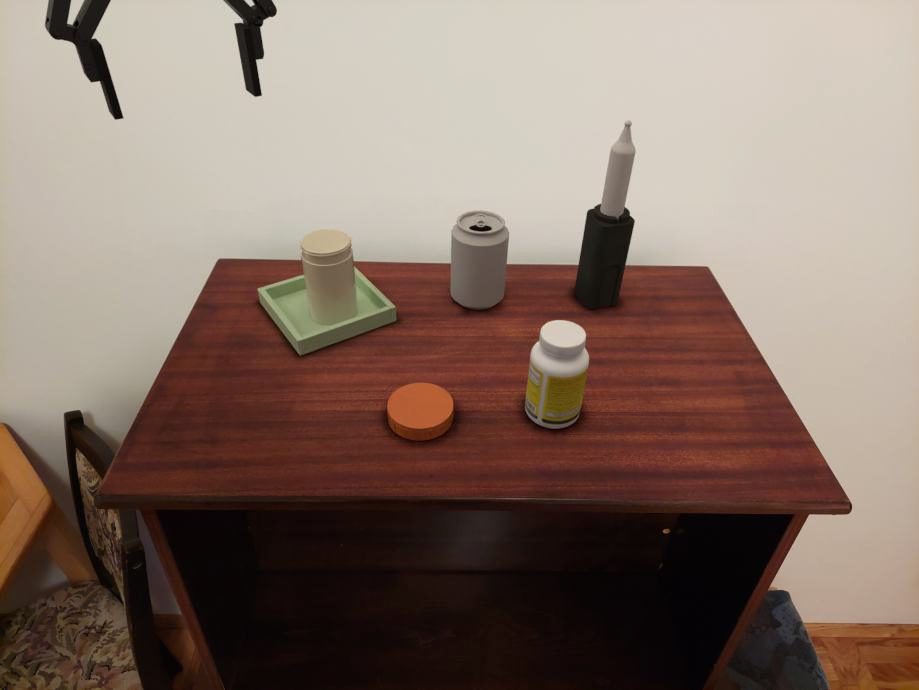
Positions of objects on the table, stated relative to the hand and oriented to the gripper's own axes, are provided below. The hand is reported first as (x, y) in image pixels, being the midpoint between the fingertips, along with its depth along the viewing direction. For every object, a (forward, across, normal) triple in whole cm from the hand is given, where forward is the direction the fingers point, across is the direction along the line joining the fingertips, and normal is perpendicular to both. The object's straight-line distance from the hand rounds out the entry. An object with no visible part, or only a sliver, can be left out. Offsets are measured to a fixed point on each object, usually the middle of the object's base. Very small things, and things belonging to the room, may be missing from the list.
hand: (188, 103), depth 65 cm
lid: (+27, -11, +26) cm, 39 cm away
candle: (+29, -44, +19) cm, 56 cm away
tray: (+29, -11, +2) cm, 31 cm away
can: (+29, -30, +10) cm, 43 cm away
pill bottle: (+29, -24, +33) cm, 50 cm away
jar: (+28, -12, +3) cm, 31 cm away
